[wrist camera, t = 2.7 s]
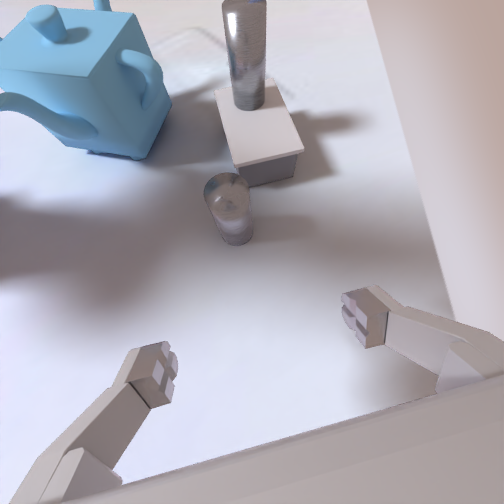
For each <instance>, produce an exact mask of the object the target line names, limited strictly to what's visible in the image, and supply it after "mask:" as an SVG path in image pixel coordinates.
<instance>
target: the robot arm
mask: <svg viewBox="0 0 504 504" xmlns="http://www.w3.org/2000/svg"><path fill="white" fill-rule="evenodd" d="M341 301H342V302H343V303H344V305H343V307H342V315H343V318H344V321H345V323H346V324H347V326H348V327H349V328H350V329H352V330H354V331H356V337H357V339H358V340H359V341H360V343H361V344H362V345H363V346H364V348H365V349H367V348H371V347H375V346H379V345H383V344H385V345H386V346H387V347H389V348H391V349H393V350H394V351H396V352H398V353H400V354H401V355H403V356H405V357H406V358H408V359H410V360H412V361H413V362H415V363H417V364H419V365H420V366H422V367H424V368H426V369H427V370H429V371H431V372H433V373H434V374H436V375H438V376H439V377H438V380H437V383H436V387H435V391H436V392H437V393H438V394H435V395H431V396H428V397H424V398H421V399H417V400H414V401H411V402H407V403H404V404H400V405H397V406H393V407H390V408H386V409H383V410H379V411H376V412H372V413H369V414H366V415H362V416H359V417H355V418H352V419H348V420H345V421H341V422H338V423H334V424H331V425H327V426H324V427H321V428H317V429H314V430H310V431H307V432H303V433H300V434H296V435H293V436H289V437H286V438H283V439H279V440H276V441H272V442H269V443H265V444H262V445H258V446H255V447H251V448H248V449H245V450H241V451H238V452H234V453H231V454H227V455H224V456H220V457H217V458H214V459H210V460H207V461H203V462H200V463H196V464H193V465H189V466H186V467H182V468H179V469H176V470H172V471H169V472H165V473H162V474H158V475H155V476H151V477H148V478H145V479H141V480H138V481H134V482H131V483H127V484H124V485H122V482H123V481H122V479H121V477H120V476H119V475H117V474H116V473H115V472H114V471H112V470H113V468H114V466H115V465H116V463H117V462H118V460H119V459H120V457H121V456H122V454H123V452H124V451H125V449H126V448H127V446H128V445H129V443H130V442H131V440H132V439H133V437H134V435H135V434H136V432H137V431H138V429H139V428H140V426H141V425H142V423H143V421H144V420H145V418H146V417H147V415H148V414H149V412H150V411H151V410H150V409H152V408H156V407H159V406H162V405H165V404H169V403H171V401H172V396H173V391H174V387H175V386H174V384H173V382H172V381H173V380H174V379H175V377H176V376H177V372H178V360H177V357H176V355H175V353H173V352H171V351H169V350H170V347H171V346H170V345H169V343H168V341H163V342H159V343H155V344H150V345H146V346H143V347H139V348H135V349H131V350H130V351H129V352H128V354H127V356H126V358H125V360H124V362H123V364H122V366H121V368H120V370H119V372H118V374H117V376H116V378H115V380H114V382H113V385H112V387H110V388H107V389H106V390H105V391H104V392H103V393H102V394H101V395H100V396H99V397H98V398H97V399H96V400H95V401H94V402H93V403H92V404H91V405H90V406H89V407H88V408H87V409H86V410H85V411H84V412H83V413H82V414H81V415H80V416H79V417H78V418H77V419H76V420H75V421H74V422H73V423H72V424H71V425H70V426H69V427H68V428H67V429H66V430H65V431H64V432H63V433H62V434H61V435H60V436H59V437H58V438H57V439H56V440H55V441H54V442H53V443H52V444H51V445H50V446H49V447H48V448H47V449H46V450H45V451H44V452H43V453H42V454H41V455H40V456H39V457H38V458H37V459H36V461H35V462H34V464H33V466H32V467H31V469H30V470H29V472H28V474H27V475H26V477H25V478H24V480H23V482H22V483H21V485H20V486H19V488H18V490H17V491H16V493H15V494H14V496H13V498H12V499H11V501H10V502H9V504H504V342H503V341H501V340H500V339H498V338H497V337H495V336H494V335H492V334H491V333H489V332H487V331H484V330H480V329H477V328H473V327H471V326H468V325H465V324H462V323H458V322H455V321H452V320H449V319H446V318H443V317H440V316H436V315H433V314H430V313H427V312H424V311H421V310H418V309H414V308H411V307H404V306H402V305H401V304H400V303H398V302H397V301H396V300H395V299H393V298H392V297H391V296H390V295H388V294H387V293H386V292H385V291H383V290H382V289H381V288H380V287H378V286H377V285H371V286H368V287H364V288H361V289H357V290H354V291H350V292H347V293H343V294H342V296H341Z"/></svg>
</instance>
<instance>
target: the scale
mask: <svg viewBox="0 0 504 504" xmlns="http://www.w3.org/2000/svg"><path fill="white" fill-rule="evenodd" d="M214 95H215V99H216V102H217V106H218V110H219V113H220V117H221V120H222V124H223V128H224V131H225V135H226V138H227V142H228V146H229V149H230V153H231V156H232V160H233V164H234V167H235V168H236V171H237V174H238V175H240V176H241V177H243V178H244V179H245V180H246V182H247V183H248V186H249V187H252V186H256V185H260V184H265V183H269V182H273V181H277V180H281V179H285V178H290V177H293V173H294V169H295V164H296V160H297V155H298V153H302V152H304V149H305V148H304V146H303V144H302V141H301V139H300V137H299V135H298V132H297V130H296V128H295V126H294V123H293V121H292V119H291V117H290V114H289V112H288V110H287V108H286V105H285V103H284V101H283V99H282V96H281V94H280V92H279V90H278V87H277V85H276V83H275V80H274V78H269V79H265V102H264V104H263V105H262V106H261V107H260V108H259V109H257V110H254V111H243V110H240V109H238V108H237V107H236V106H235V104H234V100H233V92H232V87H228V88H223V89H219V90H214Z"/></svg>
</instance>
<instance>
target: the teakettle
mask: <svg viewBox="0 0 504 504" xmlns="http://www.w3.org/2000/svg"><path fill="white" fill-rule="evenodd" d="M93 1H94V7H95V10H83V9H67V8H57V7H55V6H52V5H40V6H37V7H34V8H32V9H31V10H30V11H29V12H28V13H27V15H26V17H25V18H24V19H23V20H22V21H21V22H20V23H19V24H18V25H17V26H16V27H15V28H14V29H13V30H12V31H11V32H10V33H9V34H8V35H7V36H6V37H5V38H4V39H2V38H1V37H0V88H1V89H3V90H4V91H5V93H1V94H0V111H7V110H8V111H15V112H19V113H21V114H24V115H27V116H28V117H30V118H32V119H34V120H36V121H37V122H39V123H40V124H42V125H43V126H44V127H45V128H46V129H47V130H48V131H50V132H51V133H52V134H53V135H54V136H55V137H56V138H57V139H58V140H60V141H61V142H62V143H63V144H64V145H65V146H68V147H74V148H80V149H87V150H92V152H93V153H94V154H101V153H104V152H106V153H112V154H118V155H125V156H130V158H131V159H133V160H141V159H143V158H145V159H146V157H147V155H148V153H149V150H150V148H151V146H152V144H153V142H154V140H155V138H156V136H157V134H158V132H159V130H160V128H161V126H162V124H163V122H164V120H165V118H166V116H167V114H168V112H169V110H170V108H171V106H172V103H171V100H170V98H169V95H168V93H167V90H166V88H165V85H164V83H163V72H162V69H161V67H160V65H159V64H158V62H156V61H155V60H154V59H153V56H152V54H151V51H150V49H149V47H148V44H147V42H146V39H145V37H144V34H143V32H142V30H141V27H140V25H139V22H138V20H137V17H136V15H135V14H134V13H125V12H112V10H111V7H110V2H109V0H93Z"/></svg>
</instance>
